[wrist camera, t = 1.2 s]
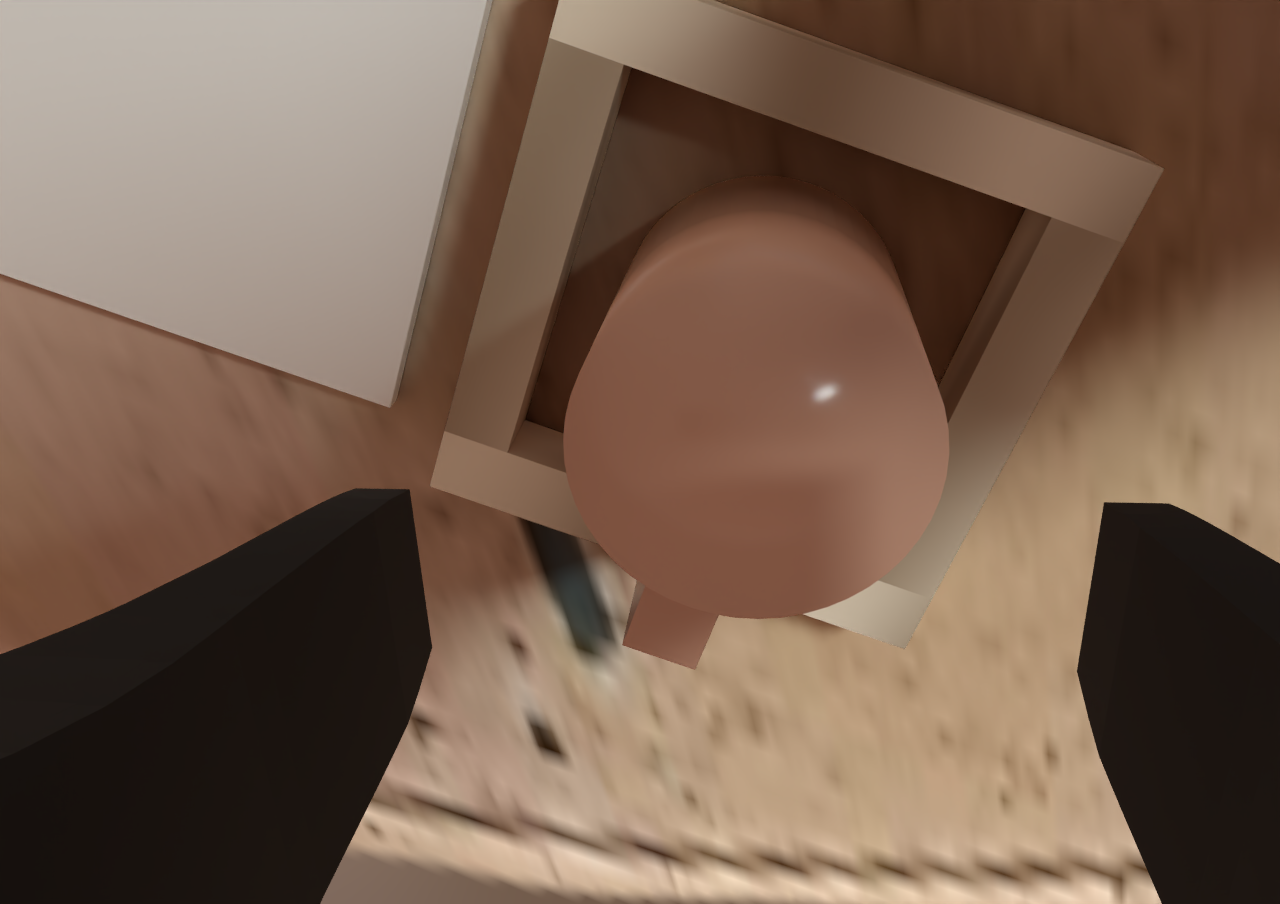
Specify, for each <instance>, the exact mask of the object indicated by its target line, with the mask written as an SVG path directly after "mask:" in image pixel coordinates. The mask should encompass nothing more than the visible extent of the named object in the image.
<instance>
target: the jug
mask: <svg viewBox="0 0 1280 904" xmlns="http://www.w3.org/2000/svg"><path fill="white" fill-rule="evenodd" d="M563 447H564V463H565V468H566V473H567V479H568V484H569V487H570V489H571V492H572V495H573V498H574V501H575V504H576V506H577V508H578V510H579V512H580V514H581V516H582V518H583V520H584V522H585V524H586V526H587V527H588V529H589V530H590V532H591V533H592V535H593V536H594V538H595V539H596V541H597V542H598V543H599V545H600V546H601V547H602V548H603V549H604V550H605V552H606V553H607V554H608V555H609V556H610V557H611V558H612V560H614V561H615V562H616V563H617V564H618V565H619V566H620V567H621V568H622V569H624V570H625V571H626V572H627V573H628V574H629V575H631V576H632V577H633V578H635V579H636V580H637V582H636V587H635V591H634V595H633V600H632V604H631V609H630V613H629V618H628V622H627V626H626V631H625V635H624V640H623V644H622V645H624V646H627V647H629V648H632V649H635V650H638V651H641V652H644V653H647V654H650V655H653V656H656V657H659V658H662V659H665V660H668V661H671V662H674V663H677V664H680V665H682V666H685V667H688V668H691V669H694V670H695V669H696V666H697V664H698V662H699V659H700V657H701V655H702V652H703V650H704V648H705V645H706V643H707V641H708V639H709V636H710V634H711V632H712V629H713V627H714V625H715V622H716V620H717V618H718V616H719V615H723V616H729V617H735V618H754V619H763V618H781V617H787V616H793V615H799V614H805V613H809V612H812V611H816V610H819V609H823V608H826V607H829V606H831V605H834V604H836V603H839V602H841V601H843V600H846V599H848V598H850V597H852V596H854V595H856V594H857V593H859V592H861V591H863V590H864V589H866V588H868V587H870V586H871V585H872V584H874V583H875V582H877V581H878V580H879V579H881V578H882V577H883V576H885V575H886V574H887V573H889V572H890V571H891V570H892V569H893V568H894V567H895V566H896V565H897V564H898V563H899V562H900V561H901V560H902V559H903V558H905V556H906V555H907V554H908V553H909V551H910V550H911V549H912V548H913V547H914V545H915V544H916V543H917V542H918V540H919V539H920V538H921V536H922V534H923V533H924V531H925V529H926V528H927V526H928V524H929V523H930V521H931V519H932V517H933V515H934V513H935V510H936V508H937V506H938V503H939V501H940V499H941V495H942V491H943V488H944V484H945V480H946V477H947V469H948V461H949V429H948V423H947V418H946V412H945V406H944V403H943V400H942V398H941V395H940V392H939V389H938V386H937V383H936V380H935V377H934V375H933V372H932V369H931V366H930V363H929V361H928V358H927V355H926V352H925V350H924V347H923V344H922V341H921V338H920V336H919V333H918V330H917V327H916V325H915V322H914V319H913V316H912V314H911V311H910V308H909V305H908V302H907V300H906V297H905V294H904V291H903V289H902V286H901V283H900V280H899V277H898V275H897V272H896V269H895V266H894V264H893V261H892V258H891V256H890V254H889V252H888V250H887V248H886V246H885V244H884V242H883V241H882V239H881V238H880V236H879V235H878V233H877V232H876V231H875V229H874V228H873V226H872V225H871V224H870V223H869V222H868V221H867V220H866V219H865V218H864V217H863V216H862V215H861V214H860V213H859V212H858V211H857V210H856V209H854V208H853V207H852V206H851V205H850V204H848V203H847V202H846V201H844V200H843V199H841V198H839V197H838V196H836V195H834V194H833V193H831V192H830V191H827V190H825V189H823V188H820V187H818V186H816V185H813V184H811V183H807V182H804V181H800V180H797V179H793V178H786V177H779V176H748V177H740V178H734V179H730V180H727V181H723V182H719V183H716V184H713V185H711V186H708V187H706V188H704V189H701V190H699V191H697V192H695V193H694V194H692V195H690V196H688V197H687V198H685V199H683V200H682V201H681V202H679V203H678V204H677V205H675V206H674V207H673V208H671V209H670V210H669V211H668V212H667V213H666V214H665V215H664V216H663V217H662V218H661V219H660V220H659V221H658V222H657V223H656V224H655V225H654V226H653V228H652V229H651V230H650V231H649V233H648V234H647V235H646V237H645V238H644V240H643V241H642V243H641V245H640V247H639V248H638V250H637V252H636V254H635V256H634V258H633V260H632V262H631V264H630V266H629V269H628V271H627V273H626V275H625V277H624V279H623V281H622V283H621V286H620V288H619V290H618V292H617V294H616V296H615V298H614V300H613V302H612V305H611V307H610V309H609V311H608V313H607V315H606V317H605V319H604V322H603V324H602V326H601V328H600V330H599V332H598V334H597V336H596V339H595V341H594V343H593V345H592V347H591V349H590V351H589V353H588V355H587V358H586V360H585V362H584V364H583V366H582V368H581V370H580V372H579V375H578V377H577V380H576V382H575V385H574V387H573V390H572V392H571V395H570V399H569V403H568V407H567V411H566V416H565V425H564V435H563Z"/></svg>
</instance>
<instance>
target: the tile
mask: <svg viewBox="0 0 1280 904" xmlns="http://www.w3.org/2000/svg"><path fill="white" fill-rule="evenodd" d="M492 1H493V0H0V274H3V275H6V276H8V277H11V278H14V279H17V280H20V281H23V282H26V283H29V284H32V285H35V286H37V287H40V288H43V289H46V290H49V291H52V292H55V293H58V294H61V295H64V296H66V297H69V298H72V299H75V300H78V301H81V302H84V303H87V304H90V305H93V306H95V307H98V308H101V309H104V310H107V311H110V312H113V313H116V314H119V315H122V316H124V317H127V318H130V319H133V320H136V321H139V322H142V323H145V324H148V325H151V326H154V327H156V328H159V329H162V330H165V331H168V332H171V333H174V334H177V335H180V336H183V337H185V338H188V339H191V340H194V341H197V342H200V343H203V344H206V345H209V346H212V347H214V348H217V349H220V350H223V351H226V352H229V353H232V354H235V355H238V356H241V357H243V358H246V359H249V360H252V361H255V362H258V363H261V364H264V365H267V366H270V367H272V368H275V369H278V370H281V371H284V372H287V373H290V374H293V375H296V376H299V377H302V378H304V379H307V380H310V381H313V382H316V383H319V384H322V385H325V386H328V387H331V388H333V389H336V390H339V391H342V392H345V393H348V394H351V395H354V396H357V397H360V398H362V399H365V400H368V401H371V402H374V403H377V404H380V405H383V406H386V407H389V408H390V407H391V406H392V405H393V404H394V403H395V401H396V400H397V396H398V392H399V388H400V384H401V380H402V375H403V371H404V367H405V363H406V359H407V355H408V350H409V346H410V342H411V338H412V334H413V330H414V325H415V321H416V317H417V313H418V309H419V305H420V300H421V296H422V292H423V288H424V284H425V280H426V275H427V271H428V267H429V263H430V259H431V255H432V250H433V246H434V242H435V238H436V234H437V230H438V225H439V221H440V217H441V213H442V209H443V205H444V201H445V196H446V192H447V188H448V184H449V180H450V176H451V171H452V167H453V163H454V159H455V155H456V151H457V146H458V142H459V138H460V134H461V130H462V126H463V121H464V117H465V113H466V109H467V105H468V101H469V96H470V92H471V88H472V84H473V80H474V76H475V71H476V67H477V63H478V59H479V55H480V51H481V46H482V42H483V38H484V34H485V30H486V26H487V22H488V17H489V13H490V9H491V5H492Z"/></svg>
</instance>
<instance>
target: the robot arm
mask: <svg viewBox="0 0 1280 904" xmlns="http://www.w3.org/2000/svg"><path fill="white" fill-rule="evenodd" d="M431 649H432V644H431V637H430V630H429V623H428V616H427V609H426V602H425V595H424V588H423V581H422V574H421V567H420V560H419V553H418V546H417V539H416V532H415V525H414V518H413V511H412V504H411V497H410V490H409V489H353V490H350V491H347V492H345V493H342V494H340V495H337V496H335V497H333V498H331V499H329V500H326V501H324V502H322V503H320V504H318V505H316V506H314V507H312V508H310V509H308V510H306V511H305V512H303V513H301V514H299V515H297V516H295V517H293V518H291V519H289V520H288V521H286V522H284V523H282V524H280V525H278V526H276V527H274V528H273V529H271V530H269V531H267V532H265V533H263V534H261V535H260V536H258V537H256V538H254V539H252V540H250V541H248V542H247V543H245V544H243V545H241V546H239V547H237V548H235V549H233V550H232V551H230V552H228V553H226V554H224V555H222V556H220V557H219V558H217V559H215V560H213V561H211V562H209V563H207V564H205V565H203V566H201V567H199V568H197V569H195V570H193V571H191V572H189V573H187V574H185V575H183V576H181V577H179V578H177V579H175V580H173V581H171V582H168V583H166V584H164V585H162V586H160V587H158V588H156V589H154V590H152V591H150V592H148V593H146V594H144V595H142V596H140V597H138V598H136V599H134V600H132V601H130V602H128V603H126V604H124V605H121V606H119V607H117V608H115V609H112V610H110V611H108V612H106V613H104V614H101V615H99V616H96V617H94V618H92V619H89V620H87V621H85V622H82V623H80V624H78V625H75V626H73V627H70V628H68V629H65V630H63V631H60V632H58V633H55V634H53V635H50V636H48V637H45V638H42V639H40V640H37V641H35V642H32V643H30V644H27V645H25V646H22V647H19V648H17V649H14V650H11V651H8V652H6V653H3V654H0V904H320V903H321V901H322V898H323V896H324V894H325V892H326V890H327V888H328V886H329V884H330V882H331V880H332V878H333V876H334V874H335V872H336V870H337V868H338V866H339V863H340V862H341V860H342V857H343V856H344V854H345V852H346V850H347V848H348V846H349V844H350V842H351V840H352V838H353V836H354V834H355V832H356V830H357V828H358V826H359V824H360V822H361V819H362V817H363V815H364V813H365V811H366V809H367V807H368V805H369V803H370V801H371V799H372V797H373V795H374V793H375V791H376V789H377V787H378V785H379V783H380V781H381V779H382V777H383V775H384V773H385V771H386V769H387V767H388V765H389V763H390V760H391V758H392V756H393V754H394V752H395V750H396V748H397V746H398V744H399V742H400V740H401V737H402V735H403V733H404V731H405V729H406V727H407V725H408V722H409V719H410V716H411V713H412V710H413V707H414V704H415V701H416V698H417V695H418V692H419V689H420V686H421V682H422V679H423V676H424V672H425V669H426V666H427V663H428V659H429V656H430V653H431ZM1077 673H1078V677H1079V681H1080V685H1081V689H1082V693H1083V697H1084V701H1085V705H1086V709H1087V714H1088V718H1089V721H1090V725H1091V728H1092V732H1093V736H1094V739H1095V743H1096V746H1097V750H1098V753H1099V757H1100V759H1101V762H1102V764H1103V767H1104V769H1105V771H1106V774H1107V776H1108V779H1109V781H1110V784H1111V786H1112V788H1113V791H1114V793H1115V795H1116V798H1117V800H1118V803H1119V805H1120V807H1121V810H1122V812H1123V814H1124V817H1125V819H1126V822H1127V824H1128V826H1129V829H1130V831H1131V833H1132V835H1133V838H1134V840H1135V842H1136V845H1137V847H1138V849H1139V852H1140V854H1141V856H1142V859H1143V861H1144V863H1145V866H1146V868H1147V870H1148V872H1149V875H1150V877H1151V879H1152V882H1153V884H1154V886H1155V889H1156V891H1157V893H1158V896H1159V898H1160V900H1161V903H1162V904H1280V564H1279V563H1278V562H1276V561H1274V560H1272V559H1271V558H1269V557H1267V556H1266V555H1264V554H1262V553H1260V552H1259V551H1257V550H1255V549H1254V548H1252V547H1250V546H1248V545H1247V544H1245V543H1243V542H1242V541H1240V540H1238V539H1236V538H1235V537H1233V536H1231V535H1229V534H1228V533H1226V532H1224V531H1222V530H1221V529H1219V528H1217V527H1215V526H1213V525H1212V524H1210V523H1208V522H1206V521H1204V520H1202V519H1200V518H1199V517H1197V516H1195V515H1193V514H1191V513H1189V512H1187V511H1185V510H1182V509H1180V508H1178V507H1175V506H1173V505H1171V504H1163V503H1109V502H1104V507H1103V513H1102V519H1101V525H1100V532H1099V538H1098V544H1097V550H1096V556H1095V563H1094V569H1093V575H1092V581H1091V588H1090V594H1089V600H1088V606H1087V612H1086V619H1085V625H1084V631H1083V637H1082V644H1081V650H1080V656H1079V662H1078V669H1077Z"/></svg>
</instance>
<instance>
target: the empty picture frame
mask: <svg viewBox="0 0 1280 904" xmlns="http://www.w3.org/2000/svg"><path fill="white" fill-rule="evenodd" d="M631 68H635V69H638V70H641V71H644V72H646V73H649V74H652V75H655V76H658V77H660V78H663V79H666V80H669V81H672V82H674V83H677V84H680V85H683V86H686V87H688V88H691V89H694V90H697V91H700V92H702V93H705V94H708V95H711V96H714V97H716V98H719V99H722V100H725V101H728V102H730V103H733V104H736V105H739V106H742V107H744V108H747V109H750V110H753V111H756V112H758V113H761V114H764V115H767V116H770V117H772V118H775V119H778V120H781V121H783V122H786V123H789V124H792V125H795V126H797V127H800V128H803V129H806V130H809V131H811V132H814V133H817V134H820V135H823V136H825V137H828V138H831V139H834V140H837V141H839V142H842V143H845V144H848V145H851V146H853V147H856V148H859V149H862V150H865V151H867V152H870V153H873V154H876V155H879V156H881V157H884V158H887V159H890V160H893V161H895V162H898V163H901V164H904V165H907V166H909V167H912V168H915V169H918V170H921V171H923V172H926V173H929V174H932V175H935V176H937V177H940V178H943V179H946V180H949V181H951V182H954V183H957V184H960V185H963V186H965V187H968V188H971V189H974V190H977V191H979V192H982V193H985V194H988V195H991V196H993V197H996V198H999V199H1002V200H1005V201H1007V202H1010V203H1013V204H1016V205H1019V206H1021V207H1024V208H1026V209H1025V211H1024V213H1023V215H1022V217H1021V219H1020V221H1019V223H1018V225H1017V228H1016V230H1015V232H1014V234H1013V236H1012V238H1011V240H1010V242H1009V244H1008V246H1007V248H1006V250H1005V252H1004V254H1003V256H1002V258H1001V260H1000V262H999V264H998V266H997V268H996V270H995V272H994V274H993V276H992V279H991V281H990V283H989V285H988V287H987V289H986V291H985V293H984V295H983V297H982V299H981V301H980V303H979V305H978V307H977V309H976V311H975V313H974V315H973V317H972V319H971V321H970V323H969V325H968V328H967V330H966V332H965V334H964V336H963V338H962V340H961V342H960V344H959V346H958V348H957V350H956V352H955V354H954V356H953V358H952V360H951V362H950V364H949V366H948V368H947V370H946V372H945V374H944V377H943V379H942V381H941V383H940V385H939V387H938V389H939V392H940V395H941V398H942V400H943V403H944V406H945V412H946V418H947V423H948V429H949V461H948V469H947V477H946V480H945V484H944V488H943V491H942V495H941V499H940V501H939V503H938V506H937V508H936V510H935V513H934V515H933V517H932V519H931V521H930V523H929V524H928V526H927V528H926V529H925V531H924V533H923V534H922V536H921V538H920V539H919V540H918V542H917V543H916V544H915V545H914V547H913V548H912V549H911V550H910V551H909V553H908V554H907V555H906V556H905V558H903V559H902V560H901V561H900V562H899V563H898V564H897V565H896V566H895V567H894V568H893V569H892V570H891V571H890V572H889V573H887V574H886V575H885V576H883V577H882V578H881V579H879V580H878V581H877V582H875V583H874V584H872V585H871V586H870V587H868V588H866V589H864V590H863V591H861V592H859V593H857V594H856V595H854V596H852V597H850V598H848V599H846V600H843V601H841V602H839V603H836V604H834V605H831V606H829V607H826V608H823V609H819V610H816V611H812V612H809V613H805V614H803V615H806V616H809V617H812V618H815V619H818V620H821V621H824V622H827V623H830V624H833V625H836V626H838V627H841V628H844V629H847V630H850V631H853V632H856V633H859V634H862V635H865V636H868V637H871V638H873V639H876V640H879V641H882V642H885V643H888V644H891V645H894V646H897V647H900V648H903V649H905V648H906V646H907V644H908V642H909V641H910V639H911V637H912V635H913V633H914V631H915V630H916V628H917V626H918V624H919V622H920V620H921V618H922V617H923V615H924V613H925V611H926V609H927V607H928V605H929V604H930V602H931V600H932V598H933V596H934V594H935V592H936V591H937V589H938V587H939V585H940V583H941V581H942V580H943V578H944V576H945V574H946V572H947V570H948V568H949V567H950V565H951V563H952V561H953V559H954V557H955V555H956V554H957V552H958V550H959V548H960V546H961V544H962V542H963V541H964V539H965V537H966V535H967V533H968V531H969V530H970V528H971V526H972V524H973V522H974V520H975V518H976V517H977V515H978V513H979V511H980V509H981V507H982V505H983V504H984V502H985V500H986V498H987V496H988V494H989V492H990V491H991V489H992V487H993V485H994V483H995V481H996V480H997V478H998V476H999V474H1000V472H1001V470H1002V468H1003V467H1004V465H1005V463H1006V461H1007V459H1008V457H1009V455H1010V454H1011V452H1012V450H1013V448H1014V446H1015V444H1016V443H1017V441H1018V439H1019V437H1020V435H1021V433H1022V431H1023V430H1024V428H1025V426H1026V424H1027V422H1028V420H1029V418H1030V417H1031V415H1032V413H1033V411H1034V409H1035V407H1036V405H1037V404H1038V402H1039V400H1040V398H1041V396H1042V394H1043V393H1044V391H1045V389H1046V387H1047V385H1048V383H1049V381H1050V380H1051V378H1052V376H1053V374H1054V372H1055V370H1056V368H1057V367H1058V365H1059V363H1060V361H1061V359H1062V357H1063V355H1064V354H1065V352H1066V350H1067V348H1068V346H1069V344H1070V343H1071V341H1072V339H1073V337H1074V335H1075V333H1076V331H1077V330H1078V328H1079V326H1080V324H1081V322H1082V320H1083V318H1084V317H1085V315H1086V313H1087V311H1088V309H1089V307H1090V305H1091V304H1092V302H1093V300H1094V298H1095V296H1096V294H1097V293H1098V291H1099V289H1100V287H1101V285H1102V283H1103V281H1104V280H1105V278H1106V276H1107V274H1108V272H1109V270H1110V268H1111V267H1112V265H1113V263H1114V261H1115V259H1116V257H1117V255H1118V254H1119V252H1120V250H1121V248H1122V246H1123V244H1124V243H1125V241H1126V239H1127V237H1128V235H1129V233H1130V231H1131V230H1132V228H1133V226H1134V224H1135V222H1136V220H1137V218H1138V217H1139V215H1140V213H1141V211H1142V209H1143V207H1144V205H1145V204H1146V202H1147V200H1148V198H1149V196H1150V194H1151V193H1152V191H1153V189H1154V187H1155V185H1156V183H1157V181H1158V180H1159V178H1160V176H1161V174H1162V172H1163V170H1164V168H1162V167H1160V166H1159V165H1157V164H1155V163H1153V162H1152V161H1150V160H1148V159H1146V158H1145V157H1143V156H1141V155H1139V154H1138V153H1136V152H1134V151H1131V150H1128V149H1125V148H1123V147H1120V146H1117V145H1114V144H1112V143H1109V142H1106V141H1103V140H1100V139H1098V138H1095V137H1092V136H1089V135H1087V134H1084V133H1081V132H1078V131H1075V130H1073V129H1070V128H1067V127H1064V126H1062V125H1059V124H1056V123H1053V122H1050V121H1048V120H1045V119H1042V118H1039V117H1037V116H1034V115H1031V114H1028V113H1026V112H1023V111H1020V110H1017V109H1014V108H1012V107H1009V106H1006V105H1003V104H1001V103H998V102H995V101H992V100H989V99H987V98H984V97H981V96H978V95H976V94H973V93H970V92H967V91H964V90H962V89H959V88H956V87H953V86H951V85H948V84H945V83H942V82H939V81H937V80H934V79H931V78H928V77H926V76H923V75H920V74H917V73H914V72H912V71H909V70H906V69H903V68H901V67H898V66H895V65H892V64H890V63H887V62H884V61H881V60H878V59H876V58H873V57H870V56H867V55H865V54H862V53H859V52H856V51H853V50H851V49H848V48H845V47H842V46H840V45H837V44H834V43H831V42H828V41H826V40H823V39H820V38H817V37H815V36H812V35H809V34H806V33H803V32H801V31H798V30H795V29H792V28H790V27H787V26H784V25H781V24H778V23H776V22H773V21H770V20H767V19H765V18H762V17H759V16H756V15H754V14H751V13H748V12H745V11H742V10H740V9H737V8H734V7H731V6H729V5H726V4H723V3H720V2H717V1H715V0H559V2H558V6H557V10H556V13H555V17H554V21H553V25H552V28H551V32H550V36H549V40H548V44H547V47H546V51H545V55H544V59H543V62H542V66H541V70H540V74H539V77H538V81H537V85H536V89H535V92H534V96H533V100H532V104H531V107H530V111H529V115H528V119H527V122H526V126H525V130H524V134H523V137H522V141H521V145H520V149H519V152H518V156H517V160H516V164H515V167H514V171H513V175H512V179H511V182H510V186H509V190H508V194H507V197H506V201H505V205H504V209H503V212H502V216H501V220H500V224H499V227H498V231H497V235H496V239H495V243H494V246H493V250H492V254H491V258H490V261H489V265H488V269H487V273H486V276H485V280H484V284H483V288H482V291H481V295H480V299H479V303H478V306H477V310H476V314H475V318H474V321H473V325H472V329H471V333H470V336H469V340H468V344H467V348H466V351H465V355H464V359H463V363H462V366H461V370H460V374H459V378H458V381H457V385H456V389H455V393H454V396H453V400H452V404H451V408H450V411H449V415H448V419H447V423H446V426H445V430H444V434H443V438H442V442H441V445H440V449H439V453H438V457H437V460H436V464H435V468H434V472H433V475H432V479H431V483H430V487H433V488H436V489H439V490H442V491H445V492H447V493H450V494H453V495H456V496H459V497H462V498H465V499H468V500H471V501H474V502H477V503H480V504H482V505H485V506H488V507H491V508H494V509H497V510H500V511H503V512H506V513H509V514H512V515H515V516H517V517H520V518H523V519H526V520H529V521H532V522H535V523H538V524H541V525H544V526H547V527H550V528H552V529H555V530H558V531H561V532H564V533H567V534H570V535H573V536H576V537H579V538H582V539H585V540H588V541H590V542H593V543H596V544H599V543H598V542H597V541H596V539H595V538H594V536H593V535H592V533H591V532H590V530H589V529H588V527H587V526H586V524H585V522H584V520H583V518H582V516H581V514H580V512H579V510H578V508H577V506H576V504H575V501H574V498H573V495H572V492H571V489H570V487H569V484H568V479H567V473H566V468H565V463H564V447H563V435H564V433H561V432H558V431H555V430H552V429H549V428H546V427H544V426H541V425H538V424H535V423H532V422H529V421H526V420H525V418H526V415H527V412H528V408H529V405H530V402H531V399H532V395H533V392H534V389H535V385H536V382H537V379H538V375H539V372H540V369H541V366H542V362H543V359H544V356H545V352H546V349H547V346H548V342H549V339H550V336H551V333H552V329H553V326H554V323H555V319H556V316H557V313H558V309H559V306H560V303H561V300H562V296H563V293H564V290H565V286H566V283H567V280H568V276H569V273H570V270H571V267H572V263H573V260H574V257H575V253H576V250H577V247H578V243H579V240H580V237H581V234H582V230H583V227H584V224H585V220H586V217H587V214H588V210H589V207H590V204H591V200H592V197H593V194H594V191H595V187H596V184H597V181H598V177H599V174H600V171H601V167H602V164H603V161H604V158H605V154H606V151H607V148H608V144H609V141H610V138H611V134H612V131H613V128H614V125H615V121H616V118H617V115H618V111H619V108H620V105H621V101H622V98H623V95H624V92H625V88H626V85H627V82H628V78H629V75H630V72H631Z"/></svg>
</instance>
